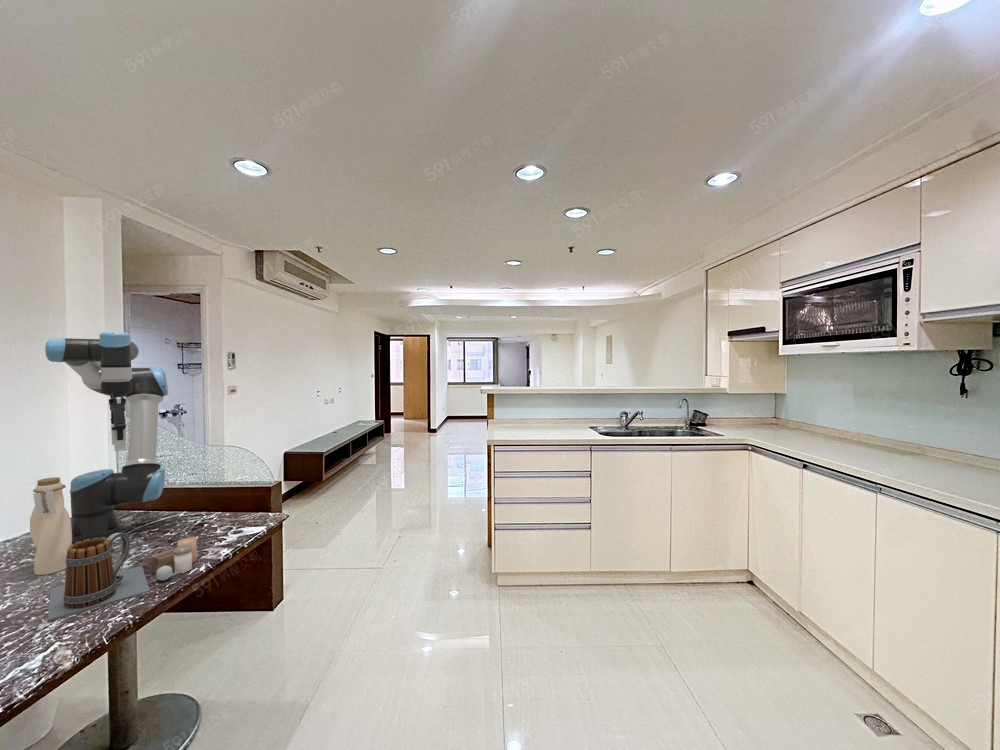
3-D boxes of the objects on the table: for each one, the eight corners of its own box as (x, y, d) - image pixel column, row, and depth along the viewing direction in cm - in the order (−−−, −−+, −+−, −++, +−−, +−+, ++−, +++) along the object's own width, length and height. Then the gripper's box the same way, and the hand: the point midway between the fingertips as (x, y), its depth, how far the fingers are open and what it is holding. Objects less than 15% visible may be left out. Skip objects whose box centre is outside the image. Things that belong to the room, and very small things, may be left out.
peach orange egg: (176, 561, 143) (176, 540, 142) (195, 557, 146) (194, 536, 146) (179, 567, 139) (178, 545, 139) (198, 562, 142) (197, 540, 142)
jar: (172, 570, 137) (171, 548, 137) (191, 565, 140) (190, 543, 140) (174, 576, 133) (174, 553, 133) (194, 570, 137) (193, 548, 136)
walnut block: (151, 572, 136) (151, 556, 136) (170, 565, 140) (169, 549, 140) (159, 576, 134) (159, 559, 133) (178, 569, 138) (177, 553, 138)
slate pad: (50, 590, 125) (50, 588, 125) (141, 567, 139) (141, 565, 138) (47, 621, 110) (47, 619, 110) (149, 592, 124) (149, 590, 124)
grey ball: (155, 579, 131) (154, 566, 131) (171, 574, 134) (171, 561, 134) (156, 584, 128) (156, 571, 128) (173, 579, 131) (173, 566, 131)
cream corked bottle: (74, 570, 137) (71, 480, 136) (32, 580, 130) (28, 486, 129) (71, 559, 144) (68, 473, 143) (31, 569, 137) (27, 479, 136)
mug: (84, 611, 114) (82, 553, 113) (52, 606, 116) (50, 550, 115) (144, 581, 129) (142, 530, 129) (114, 577, 131) (112, 527, 131)
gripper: (99, 379, 148) (101, 443, 149) (102, 383, 130) (104, 455, 131) (128, 378, 153) (130, 440, 154) (135, 382, 135) (137, 451, 136)
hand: (118, 447), depth 142 cm, fingers open, 13 cm apart
